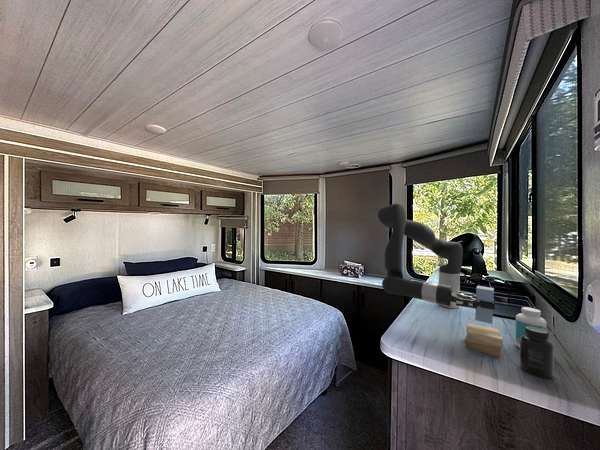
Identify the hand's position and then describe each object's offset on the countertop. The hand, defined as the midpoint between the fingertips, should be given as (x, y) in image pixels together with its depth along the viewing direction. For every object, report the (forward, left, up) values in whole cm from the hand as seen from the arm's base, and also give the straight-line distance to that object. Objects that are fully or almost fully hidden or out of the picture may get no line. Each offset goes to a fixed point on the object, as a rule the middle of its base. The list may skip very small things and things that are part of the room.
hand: (494, 304), depth 78 cm
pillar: (0, -3, -6) cm, 7 cm away
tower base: (0, -3, -16) cm, 16 cm away
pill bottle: (-9, +9, -15) cm, 20 cm away
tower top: (0, -3, -13) cm, 13 cm away
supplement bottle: (+7, +9, -15) cm, 19 cm away
